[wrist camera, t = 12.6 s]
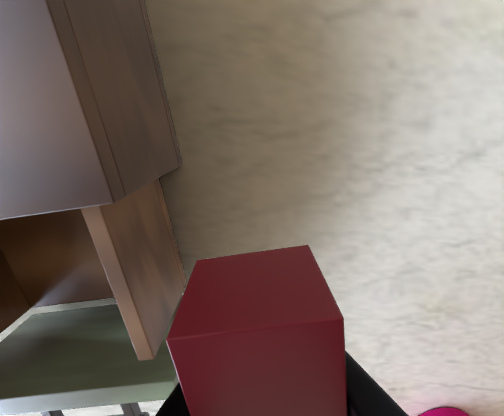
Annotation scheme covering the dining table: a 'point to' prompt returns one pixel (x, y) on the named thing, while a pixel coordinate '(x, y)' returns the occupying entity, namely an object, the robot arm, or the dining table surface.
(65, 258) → the drawer
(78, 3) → the cabinet
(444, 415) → the pepper mill
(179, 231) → the dining table surface
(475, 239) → the dining table surface
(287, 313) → the red block
